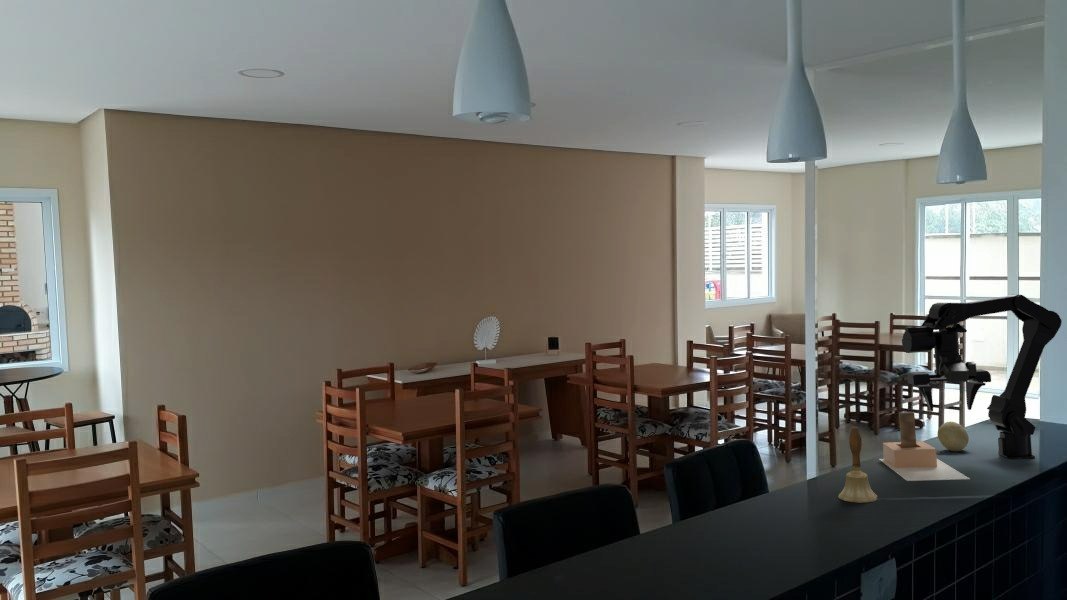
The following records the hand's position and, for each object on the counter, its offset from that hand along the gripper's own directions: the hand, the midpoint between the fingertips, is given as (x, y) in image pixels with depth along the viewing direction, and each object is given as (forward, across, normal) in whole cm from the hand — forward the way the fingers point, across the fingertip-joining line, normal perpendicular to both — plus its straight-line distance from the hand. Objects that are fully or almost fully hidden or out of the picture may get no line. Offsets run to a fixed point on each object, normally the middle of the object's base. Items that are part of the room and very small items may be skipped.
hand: (950, 410), depth 207 cm
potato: (+13, +4, +11) cm, 18 cm away
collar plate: (+13, -11, -10) cm, 20 cm away
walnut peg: (+12, -12, -4) cm, 18 cm away
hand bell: (+13, -32, -34) cm, 48 cm away
